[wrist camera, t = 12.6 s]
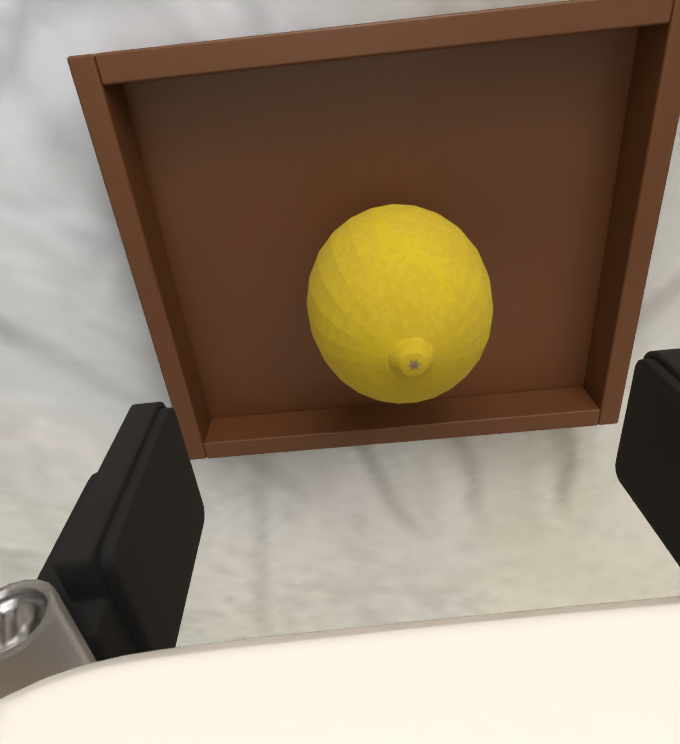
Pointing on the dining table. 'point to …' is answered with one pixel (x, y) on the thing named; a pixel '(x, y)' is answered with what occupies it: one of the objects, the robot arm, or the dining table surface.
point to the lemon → (400, 303)
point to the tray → (384, 187)
